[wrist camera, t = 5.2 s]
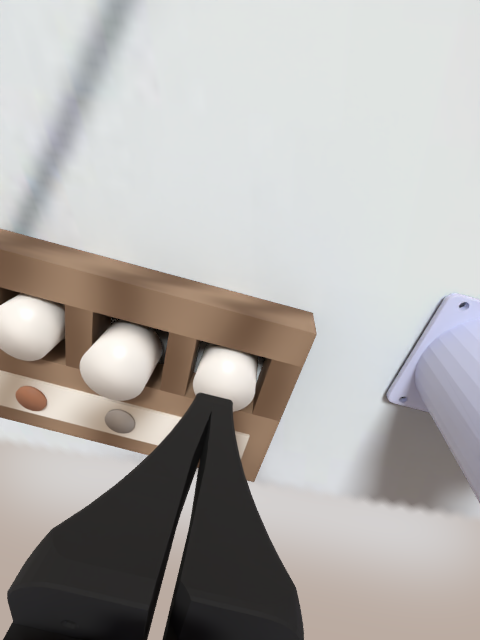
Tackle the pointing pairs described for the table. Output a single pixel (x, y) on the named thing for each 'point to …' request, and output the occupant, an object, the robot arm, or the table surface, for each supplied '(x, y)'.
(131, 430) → the button board
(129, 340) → the middle button
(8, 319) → the button
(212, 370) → the button
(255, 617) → the robot arm
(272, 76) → the table surface
